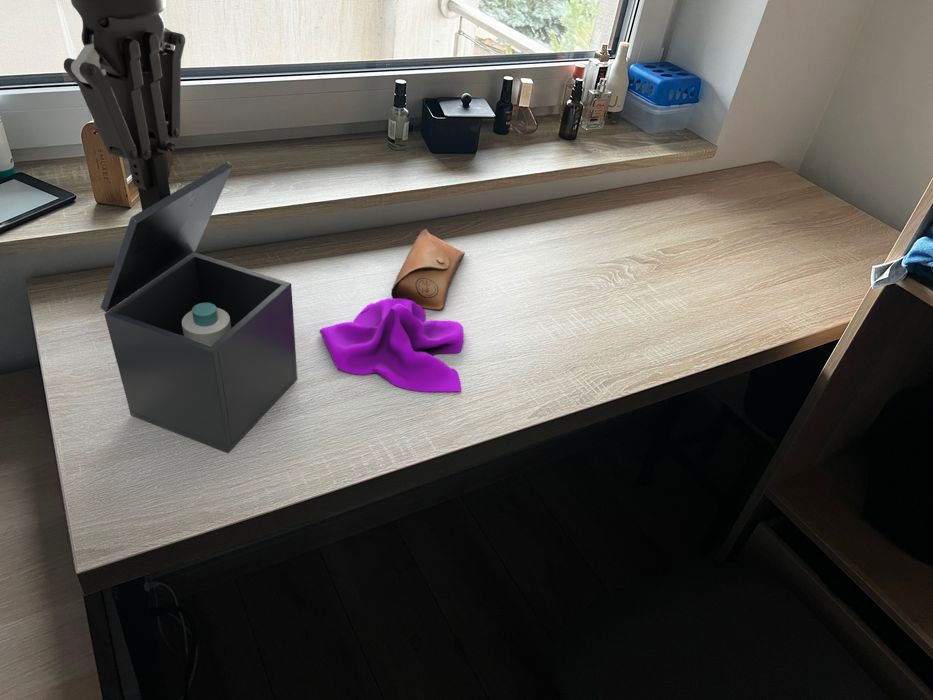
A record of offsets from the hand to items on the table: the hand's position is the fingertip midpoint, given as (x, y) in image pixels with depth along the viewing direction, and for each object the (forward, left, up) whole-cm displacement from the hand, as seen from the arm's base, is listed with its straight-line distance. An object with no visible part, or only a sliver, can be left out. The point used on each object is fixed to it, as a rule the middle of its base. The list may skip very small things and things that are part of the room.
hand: (158, 211), depth 75 cm
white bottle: (0, -4, -24) cm, 24 cm away
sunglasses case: (+38, -16, -25) cm, 48 cm away
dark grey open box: (0, -4, -24) cm, 25 cm away
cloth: (+20, -20, -25) cm, 37 cm away
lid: (0, -1, -3) cm, 3 cm away
